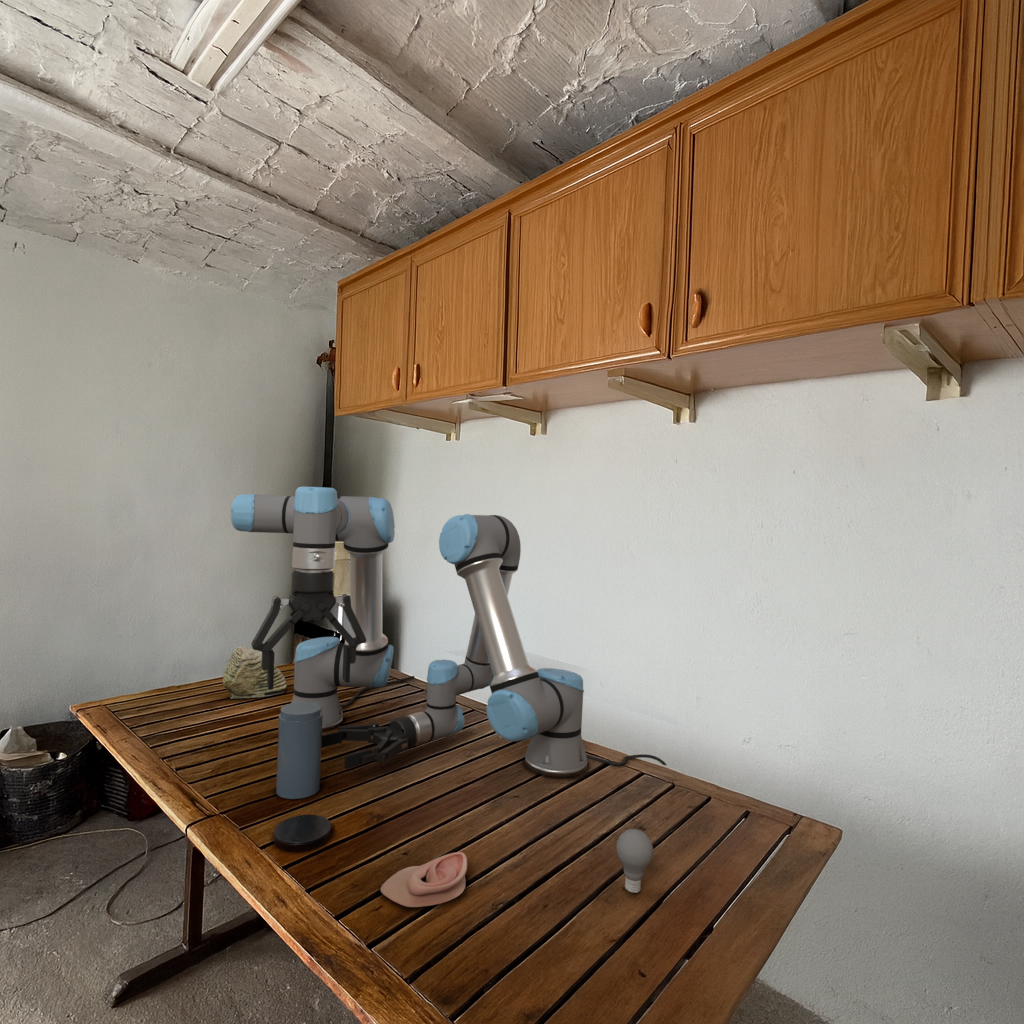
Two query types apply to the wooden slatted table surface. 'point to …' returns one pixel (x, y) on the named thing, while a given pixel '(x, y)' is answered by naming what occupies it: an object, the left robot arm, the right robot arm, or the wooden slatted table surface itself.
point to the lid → (302, 833)
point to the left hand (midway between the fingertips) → (309, 684)
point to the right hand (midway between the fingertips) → (329, 752)
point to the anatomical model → (428, 882)
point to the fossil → (250, 675)
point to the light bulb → (634, 857)
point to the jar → (299, 750)
